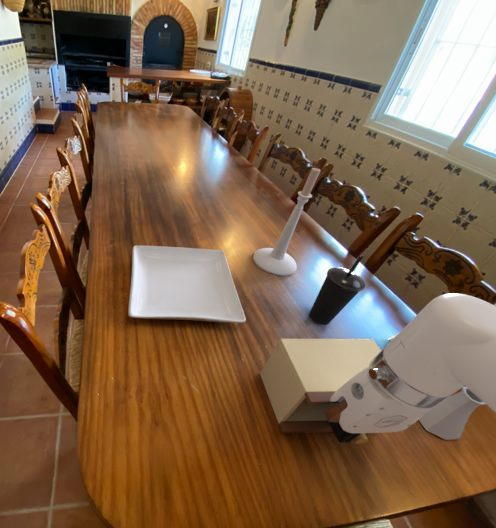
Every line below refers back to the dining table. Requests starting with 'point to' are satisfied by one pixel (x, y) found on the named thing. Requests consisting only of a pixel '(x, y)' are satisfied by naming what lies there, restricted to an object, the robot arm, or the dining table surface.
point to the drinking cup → (336, 293)
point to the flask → (451, 414)
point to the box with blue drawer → (311, 378)
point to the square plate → (183, 285)
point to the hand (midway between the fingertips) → (338, 432)
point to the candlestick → (285, 237)
